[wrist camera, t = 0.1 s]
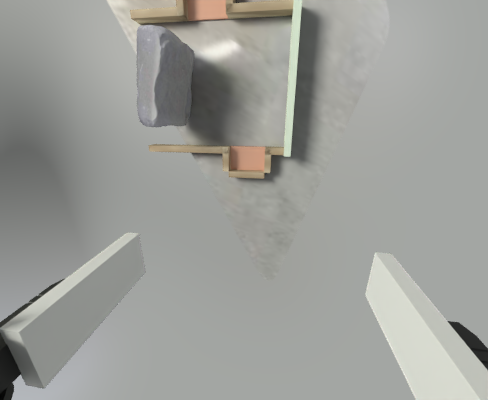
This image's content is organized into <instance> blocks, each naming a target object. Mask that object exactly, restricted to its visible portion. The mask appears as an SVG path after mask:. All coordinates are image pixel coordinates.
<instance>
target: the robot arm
mask: <svg viewBox="0 0 488 400" xmlns="http://www.w3.org/2000/svg"><path fill="white" fill-rule="evenodd" d="M144 273H145V266H144V260H143V254H142V249H141V243H140V237H139V234H138V233H126V234H125V235H123V236H122V237H121V238H119V239H118V240H117V241H115V242H114V243H113V244H111V245H110V246H109V247H107V248H106V249H105V250H103V251H102V252H101V253H99V254H98V255H97V256H95V257H94V258H93V259H91V260H90V261H89V262H87V263H86V264H85V265H84V266H82V267H81V268H79V269H78V270H77V271H75V272H74V273H73V274H71V275H70V276H69V277H67V278H66V279H63V280H61V281H59V282H57V283H55V284H53V285H51V286H49V287H48V288H47V289H45V290H44V291H42V292H41V293H40V294H39V295H38V296H36V297H34V298H33V299H32V300H30V301H29V303H27V304H25V305H23V306H22V307H21V308H19V309H18V310H16V311H15V312H14V313H12V314H11V315H10V316H8V317H7V318H6V319H4V320H3V321H1V322H0V400H11V398H12V395H13V392H14V385H13V383H12V382H13V381H14V380H15V379H16V378H17V377H18V376H19V375H20V374H21V375H22V378H23V379H24V382H25V384H26V385H28V386H34V387H38V388H45V387H46V386H47V385H48V384H49V383H50V381H51V380H52V379H53V378H54V377H55V376H56V375H57V373H58V372H59V371H60V370H61V369H62V368H63V367H64V365H65V364H66V363H67V362H68V361H69V360H70V358H71V357H72V356H73V355H74V354H75V353H76V352H77V351H78V349H79V348H80V347H81V346H82V345H83V344H84V342H85V341H86V340H87V339H88V338H89V337H90V336H91V334H92V333H93V332H94V331H95V330H96V329H97V327H98V326H99V325H100V324H101V323H102V322H103V321H104V320H105V318H106V317H107V316H108V315H109V314H110V313H111V311H112V310H113V309H114V308H115V307H116V306H117V305H118V303H119V302H120V301H121V300H122V299H123V298H124V296H125V295H126V294H127V293H128V292H129V291H130V290H131V288H132V287H133V286H134V285H135V284H136V282H137V281H138V280H139V279H140V278H141V277H142V276H143V275H144ZM365 296H366V297H367V300H368V302H369V304H370V306H371V308H372V310H373V312H374V314H375V316H376V318H377V320H378V322H379V324H380V326H381V329H382V331H383V332H384V335H385V337H386V339H387V341H388V343H389V345H390V347H391V349H392V351H393V353H394V355H395V357H396V359H397V361H398V363H399V366H400V367H401V370H402V372H403V374H404V376H405V378H406V380H407V382H408V384H409V386H410V388H411V390H412V392H413V395H414V397H415V399H416V400H488V348H487V347H486V346H485V345H484V344H483V343H482V342H481V341H480V340H479V338H478V337H477V336H476V335H474V334H473V333H472V332H470V331H469V330H468V329H467V328H465V327H464V326H463V325H461V324H460V323H458V322H450V321H446V319H445V318H444V317H443V316H442V314H441V313H440V312H439V311H438V310H437V308H436V307H435V306H434V305H433V303H432V302H431V301H430V300H429V299H428V297H427V296H426V295H425V294H424V293H423V291H422V290H421V289H420V288H419V287H418V285H417V284H416V283H415V282H414V280H413V279H412V278H411V277H410V276H409V275H408V273H407V272H406V271H405V270H404V269H403V267H402V266H401V265H400V264H399V262H398V261H397V260H396V259H395V257H394V256H393V255H392V254H389V253H377V252H376V253H375V256H374V260H373V264H372V268H371V273H370V277H369V281H368V286H367V290H366V294H365Z"/></svg>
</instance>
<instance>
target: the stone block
mask: <svg viewBox="0 0 488 400" xmlns="http://www.w3.org/2000/svg"><path fill="white" fill-rule="evenodd" d="M193 65H194V51H193V50H192V49H191V48H190V47H189V46H188V45H187V44H185V43H183V42H181V40H180V39H179V38H178V37H177V36H176V35H175V34H174V33H173V32H171V31H170V30H168V29H166V28H164V27H162V26H155V25H144V26H139V27H138V30H137V87H138V94H137V109H138V115H139V119H140V122H141V123H142V124H143V125H145V126H149V127H161V126H168V125H174V126H184V125H186V123H187V121H188V120H189V117H190V114H191V111H190V109H191V103H192V93H191V89H190V87H191V80H192V71H193Z"/></svg>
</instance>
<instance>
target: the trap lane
mask: <svg viewBox="0 0 488 400" xmlns="http://www.w3.org/2000/svg"><path fill="white" fill-rule="evenodd" d="M301 9H302V0H277V1H261V2H246V3H236V0H176V7H169V8H153V9H138V10H130V13H131V19H133V20H134V21H136V22H137V23H139V24H145V23H163V22H181V21H199V20H217V19H236V18H254V17H272V16H290V15H292V27H291V43H290V58H289V74H288V90H287V105H286V121H285V137H284V147H253V146H209V145H165V144H154V145H149V151H153V152H154V151H155V152H190V153H223V171H229V177H237V178H261V179H264V176H265V173H270V171H271V155H284V157H290V156H291V142H292V129H293V116H294V102H295V89H296V76H297V62H298V49H299V35H300V22H301Z"/></svg>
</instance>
